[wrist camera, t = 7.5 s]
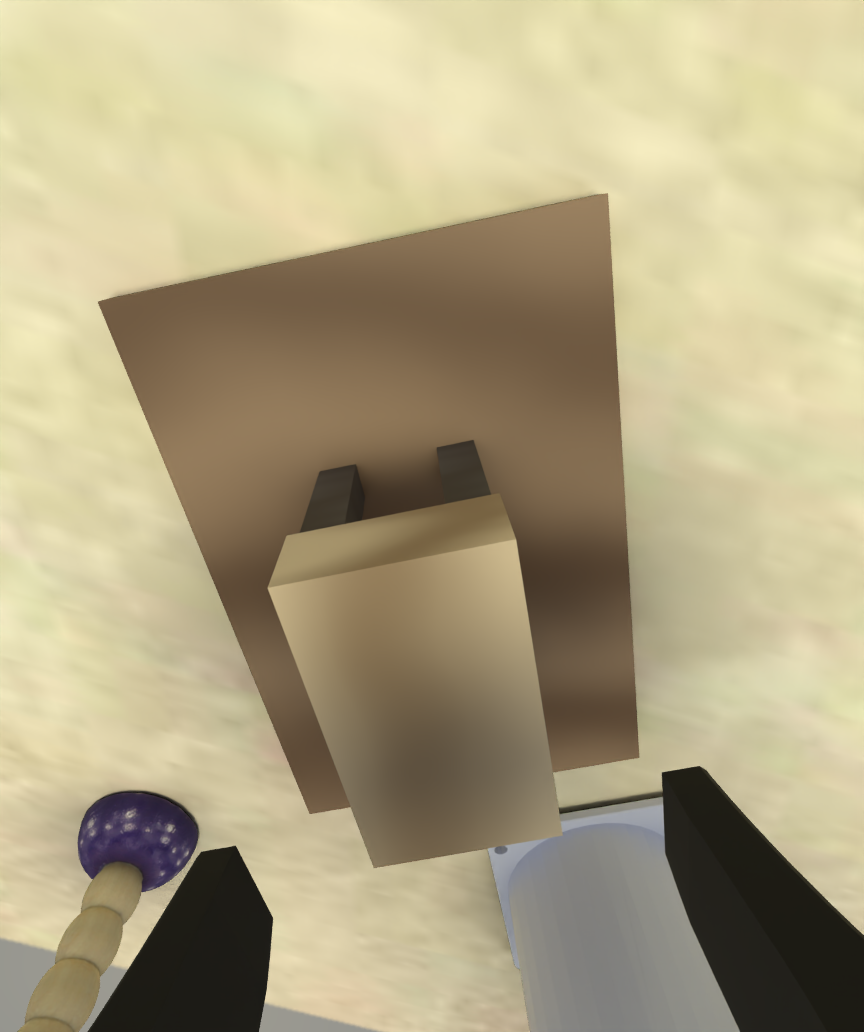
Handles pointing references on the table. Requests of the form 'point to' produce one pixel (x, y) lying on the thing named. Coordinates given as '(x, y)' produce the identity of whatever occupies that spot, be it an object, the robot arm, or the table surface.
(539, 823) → the oak stool
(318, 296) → the walnut board
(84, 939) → the toy lamp
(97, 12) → the table surface
